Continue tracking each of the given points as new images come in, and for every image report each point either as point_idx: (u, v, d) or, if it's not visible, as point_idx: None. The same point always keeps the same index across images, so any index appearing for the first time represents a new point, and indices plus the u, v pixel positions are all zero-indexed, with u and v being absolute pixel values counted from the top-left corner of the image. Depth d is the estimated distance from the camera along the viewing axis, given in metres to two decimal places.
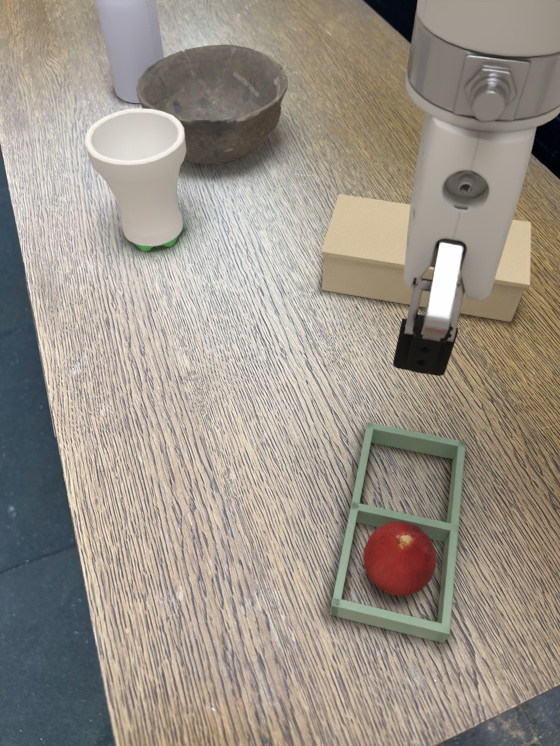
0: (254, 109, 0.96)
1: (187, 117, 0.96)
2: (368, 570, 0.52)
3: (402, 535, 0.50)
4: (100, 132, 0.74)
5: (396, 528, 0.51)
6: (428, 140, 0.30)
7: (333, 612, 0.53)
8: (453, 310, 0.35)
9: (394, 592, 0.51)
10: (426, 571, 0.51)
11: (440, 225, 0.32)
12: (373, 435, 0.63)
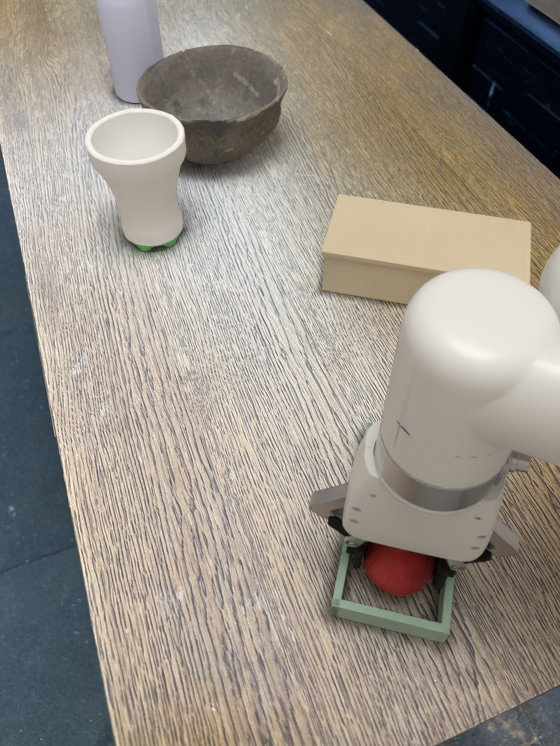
0: (254, 109, 0.96)
1: (187, 117, 0.96)
2: (368, 570, 0.52)
3: None
4: (100, 132, 0.74)
5: None
6: (484, 509, 0.40)
7: (333, 612, 0.53)
8: None
9: (394, 592, 0.51)
10: (426, 571, 0.51)
11: None
12: None
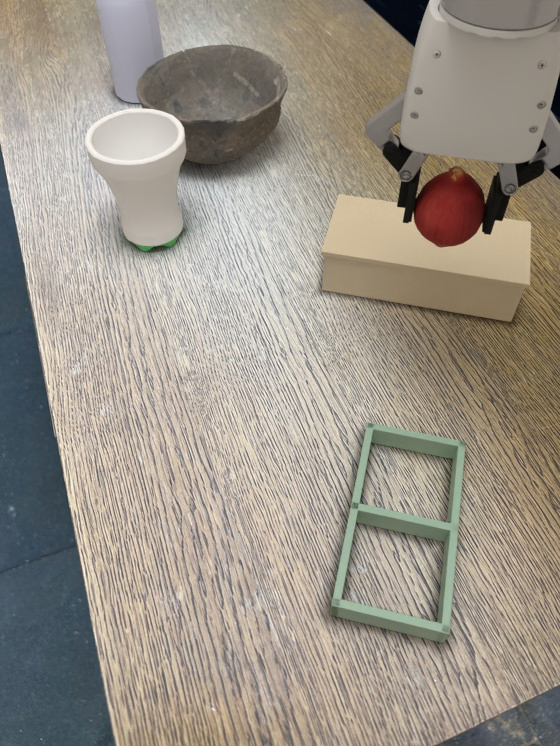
0: (254, 109, 0.96)
1: (187, 117, 0.96)
2: (420, 217, 0.53)
3: (455, 166, 0.51)
4: (100, 132, 0.74)
5: (447, 171, 0.53)
6: (548, 48, 0.41)
7: (333, 612, 0.53)
8: None
9: (446, 232, 0.53)
10: (477, 207, 0.52)
11: None
12: (373, 435, 0.63)
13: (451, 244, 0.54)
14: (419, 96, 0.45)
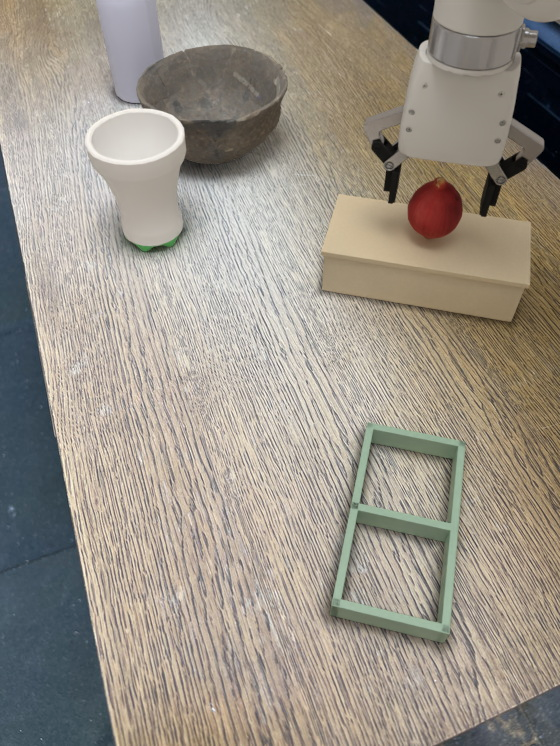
0: (254, 109, 0.96)
1: (187, 117, 0.96)
2: (412, 215, 0.70)
3: (438, 177, 0.67)
4: (100, 132, 0.74)
5: (433, 180, 0.69)
6: (505, 82, 0.56)
7: (333, 612, 0.53)
8: (501, 154, 0.65)
9: (432, 227, 0.69)
10: (456, 208, 0.68)
11: (512, 114, 0.60)
12: (373, 435, 0.63)
13: (436, 236, 0.70)
14: (412, 116, 0.61)
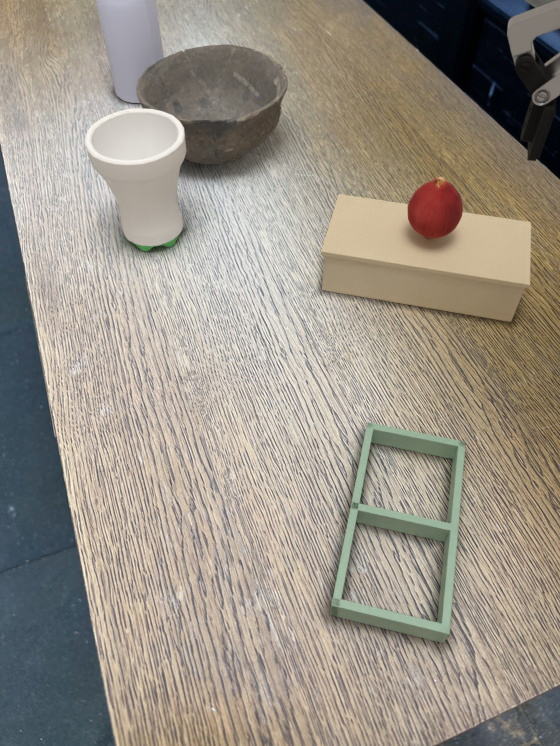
0: (254, 109, 0.96)
1: (187, 117, 0.96)
2: (412, 215, 0.70)
3: (439, 177, 0.67)
4: (100, 132, 0.74)
5: (433, 180, 0.69)
6: None
7: (333, 612, 0.53)
8: None
9: (432, 227, 0.69)
10: (456, 208, 0.68)
11: None
12: (373, 435, 0.63)
13: (436, 236, 0.70)
14: None
